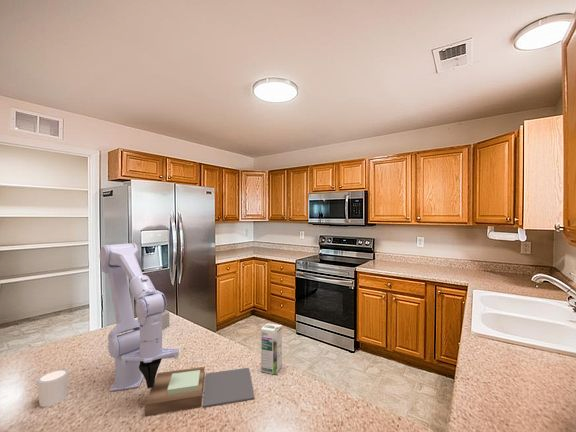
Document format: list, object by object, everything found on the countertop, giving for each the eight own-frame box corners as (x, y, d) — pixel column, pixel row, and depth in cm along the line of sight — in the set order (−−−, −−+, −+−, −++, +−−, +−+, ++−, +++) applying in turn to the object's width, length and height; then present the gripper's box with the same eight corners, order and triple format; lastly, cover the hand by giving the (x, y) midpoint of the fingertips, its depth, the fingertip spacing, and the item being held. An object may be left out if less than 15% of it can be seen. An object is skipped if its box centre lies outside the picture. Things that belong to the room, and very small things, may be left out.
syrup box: (260, 372, 90) (260, 328, 90) (267, 363, 95) (267, 322, 96) (275, 375, 88) (275, 330, 88) (282, 366, 93) (282, 324, 94)
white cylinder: (52, 392, 80) (52, 368, 80) (74, 392, 80) (75, 368, 80) (29, 408, 73) (29, 382, 73) (54, 408, 73) (54, 382, 73)
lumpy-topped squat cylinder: (157, 333, 121) (157, 314, 121) (132, 331, 124) (132, 312, 124) (172, 325, 131) (172, 307, 131) (149, 323, 134) (149, 305, 134)
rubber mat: (206, 375, 88) (206, 373, 88) (248, 369, 92) (248, 367, 92) (202, 407, 73) (202, 405, 73) (254, 399, 76) (254, 397, 76)
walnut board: (157, 382, 84) (157, 372, 84) (204, 376, 88) (204, 366, 88) (144, 416, 70) (144, 404, 70) (201, 406, 73) (201, 395, 73)
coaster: (172, 378, 81) (172, 373, 81) (200, 374, 83) (200, 370, 83) (167, 395, 73) (167, 389, 73) (198, 390, 75) (198, 385, 75)
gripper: (117, 346, 71) (117, 399, 70) (176, 340, 74) (176, 390, 74) (126, 335, 78) (126, 383, 77) (180, 330, 81) (180, 376, 81)
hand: (151, 385), depth 76 cm, fingers closed
